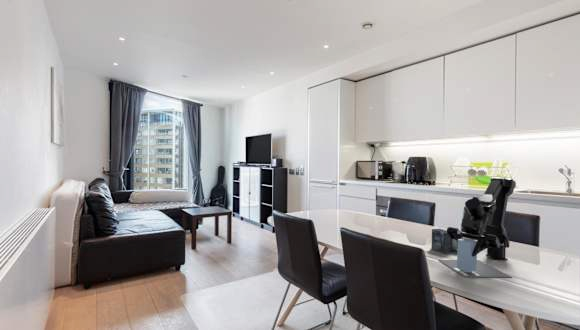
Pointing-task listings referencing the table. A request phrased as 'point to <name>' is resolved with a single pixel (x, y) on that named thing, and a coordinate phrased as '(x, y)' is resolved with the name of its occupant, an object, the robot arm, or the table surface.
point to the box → (441, 241)
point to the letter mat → (481, 270)
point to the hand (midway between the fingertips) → (465, 253)
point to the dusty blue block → (466, 255)
